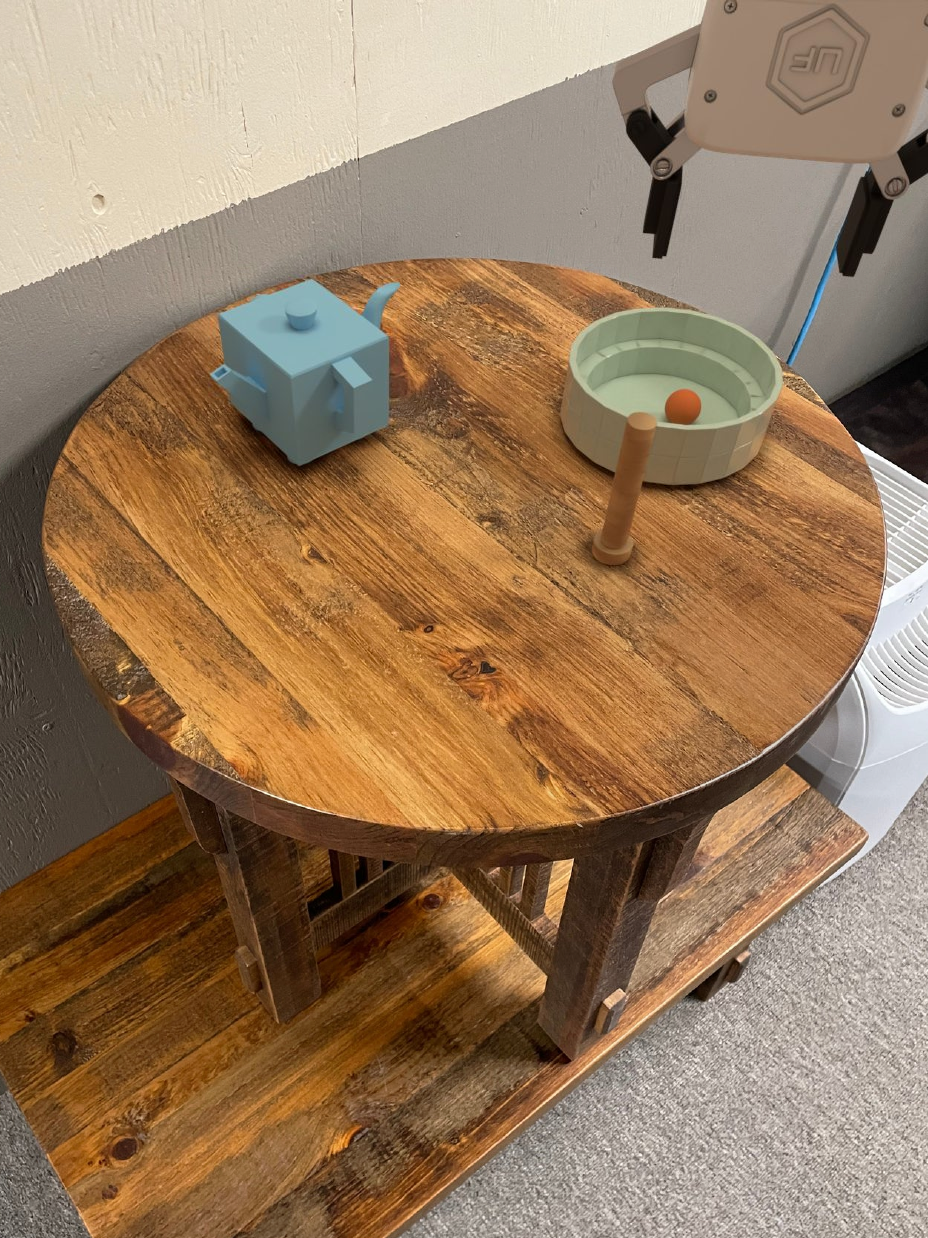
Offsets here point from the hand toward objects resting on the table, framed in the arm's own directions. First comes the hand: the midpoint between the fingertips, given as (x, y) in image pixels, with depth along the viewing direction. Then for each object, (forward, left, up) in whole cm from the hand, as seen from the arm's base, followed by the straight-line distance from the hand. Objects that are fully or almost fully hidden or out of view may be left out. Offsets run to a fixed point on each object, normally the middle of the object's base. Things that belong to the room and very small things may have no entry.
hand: (750, 254), depth 53 cm
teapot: (+29, -15, -26) cm, 42 cm away
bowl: (0, -21, -26) cm, 33 cm away
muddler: (+3, -4, -26) cm, 26 cm away
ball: (-1, -21, -24) cm, 32 cm away
